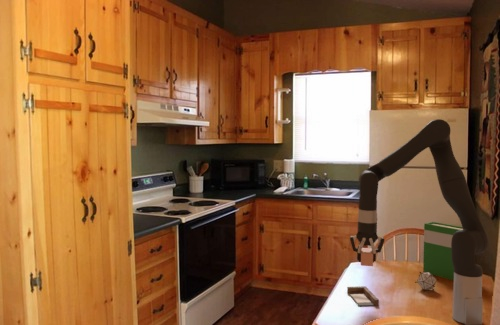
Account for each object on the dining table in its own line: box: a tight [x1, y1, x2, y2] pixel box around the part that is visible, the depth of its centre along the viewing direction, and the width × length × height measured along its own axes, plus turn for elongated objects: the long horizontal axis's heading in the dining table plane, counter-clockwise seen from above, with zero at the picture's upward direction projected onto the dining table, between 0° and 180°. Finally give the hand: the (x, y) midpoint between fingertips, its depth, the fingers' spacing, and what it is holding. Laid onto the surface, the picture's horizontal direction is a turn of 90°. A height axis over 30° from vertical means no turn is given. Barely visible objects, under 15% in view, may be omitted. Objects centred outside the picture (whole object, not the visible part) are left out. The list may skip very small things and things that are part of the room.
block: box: [360, 247, 374, 267], centre depth 173 cm, size 4×8×5 cm, turn 169°
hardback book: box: [422, 221, 463, 281], centre depth 204 cm, size 18×7×24 cm, turn 36°
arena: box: [346, 285, 380, 307], centre depth 176 cm, size 15×8×2 cm, turn 4°
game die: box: [414, 271, 439, 292], centre depth 185 cm, size 9×8×10 cm
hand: (366, 261), depth 174 cm, fingers closed on block, 4 cm apart
